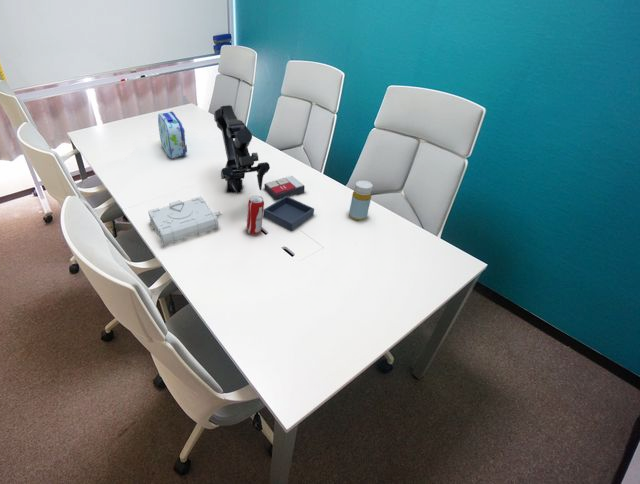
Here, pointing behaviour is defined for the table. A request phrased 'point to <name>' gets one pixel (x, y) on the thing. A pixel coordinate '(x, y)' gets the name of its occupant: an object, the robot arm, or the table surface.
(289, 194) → the calculator
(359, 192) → the bottle
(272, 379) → the table surface
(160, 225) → the grey case
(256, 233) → the beverage can
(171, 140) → the lunch box
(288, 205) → the tray
